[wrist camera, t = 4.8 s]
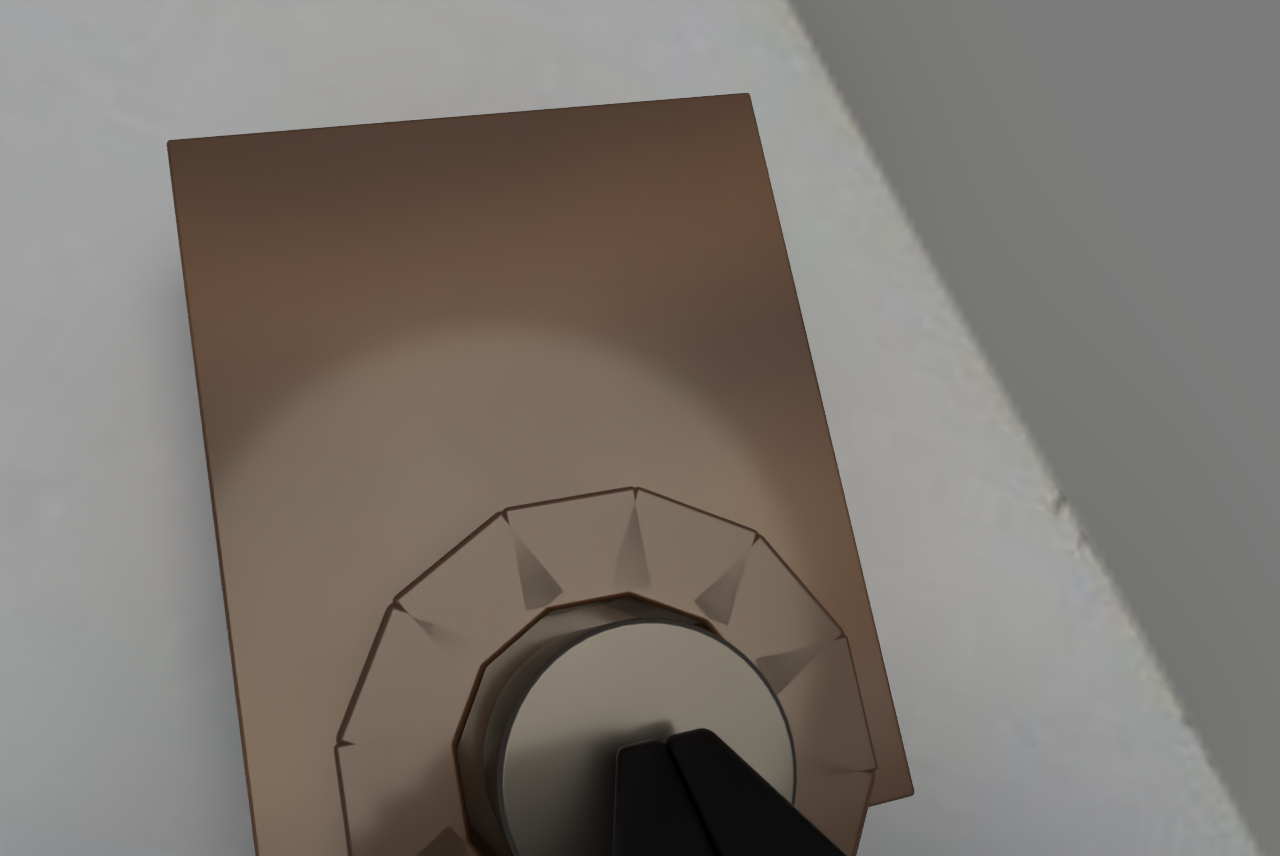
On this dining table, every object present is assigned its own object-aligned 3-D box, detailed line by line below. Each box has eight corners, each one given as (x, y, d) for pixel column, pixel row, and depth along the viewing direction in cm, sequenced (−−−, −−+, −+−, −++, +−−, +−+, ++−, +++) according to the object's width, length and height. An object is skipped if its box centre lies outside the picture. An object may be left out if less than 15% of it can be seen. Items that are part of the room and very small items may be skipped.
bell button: (751, 851, 12) (829, 895, 10) (506, 916, 11) (527, 980, 9) (701, 604, 12) (763, 591, 10) (463, 653, 12) (473, 650, 9)
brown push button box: (821, 849, 17) (1020, 940, 11) (321, 982, 15) (260, 1171, 10) (682, 210, 19) (792, 18, 14) (224, 260, 17) (127, 61, 12)
